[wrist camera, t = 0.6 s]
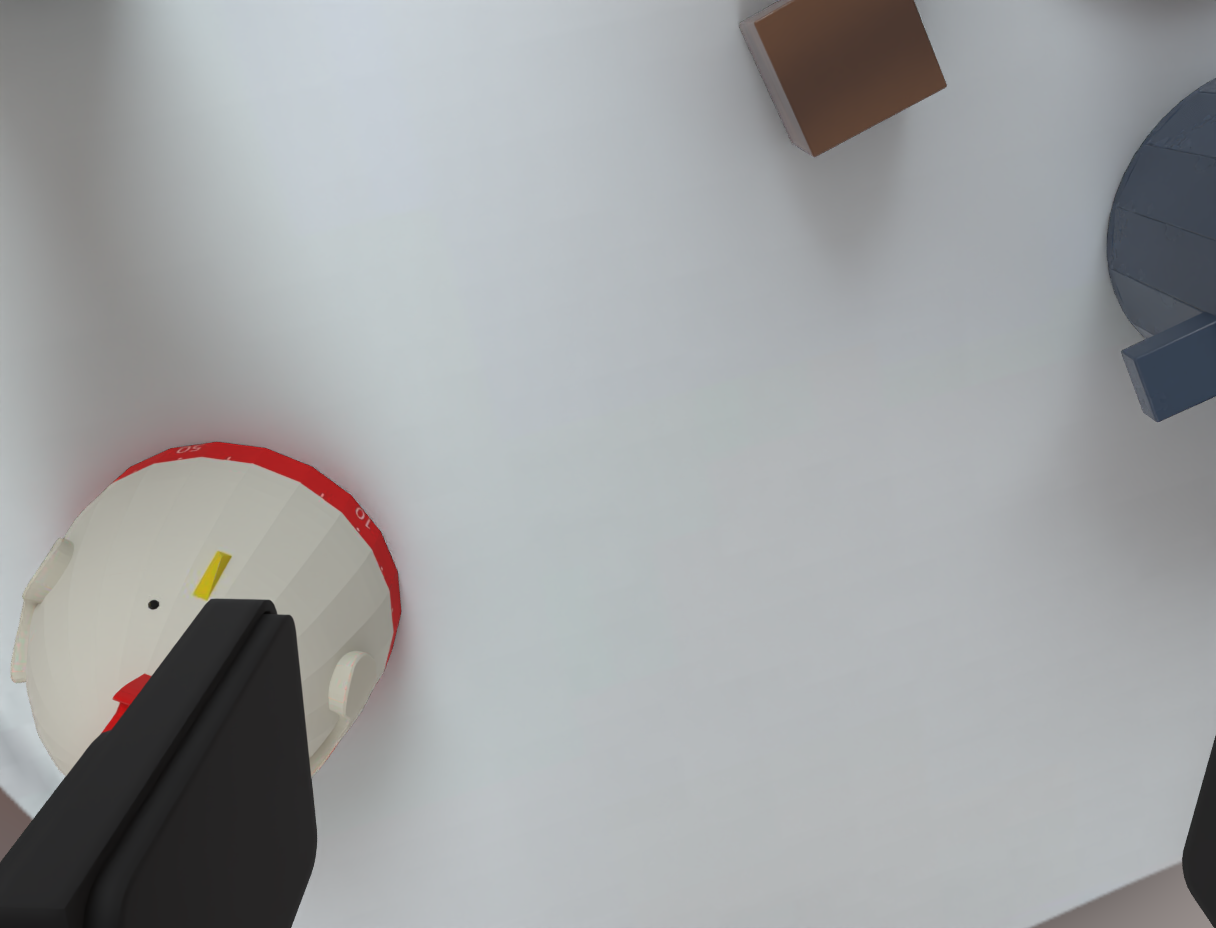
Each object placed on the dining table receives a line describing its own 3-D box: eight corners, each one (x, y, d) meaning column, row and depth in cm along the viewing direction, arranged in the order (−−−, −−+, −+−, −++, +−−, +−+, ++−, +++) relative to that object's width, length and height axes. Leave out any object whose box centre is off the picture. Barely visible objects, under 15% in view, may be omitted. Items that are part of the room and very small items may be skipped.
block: (737, 23, 37) (752, 21, 32) (859, -46, 36) (891, -57, 31) (792, 144, 38) (813, 158, 34) (910, 81, 37) (948, 86, 33)
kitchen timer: (447, 521, 44) (367, 744, 30) (342, 765, 49) (230, 1055, 35) (122, 390, 42) (-125, 565, 28) (46, 658, 47) (-199, 921, 33)
